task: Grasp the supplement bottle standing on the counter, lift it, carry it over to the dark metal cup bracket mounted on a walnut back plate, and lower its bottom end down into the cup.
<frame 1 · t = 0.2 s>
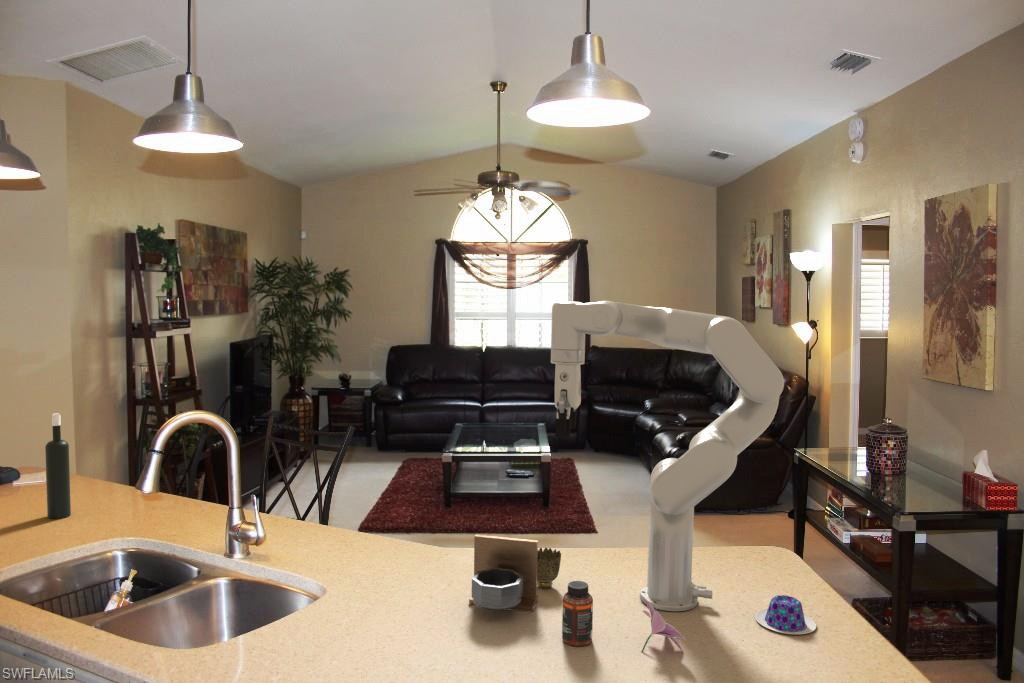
hand: (565, 432, 169), 36 cm above the kitchen counter, tool pointing down, fingers open, 9 cm apart
cup: (544, 587, 174), on the kitchen counter
cup bracket: (496, 614, 159), on the kitchen counter
lily: (660, 649, 145), on the kitchen counter
wine bottle: (59, 516, 218), on the kitchen counter
supplement bottle: (577, 641, 148), on the kitchen counter
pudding: (785, 625, 157), on the kitchen counter
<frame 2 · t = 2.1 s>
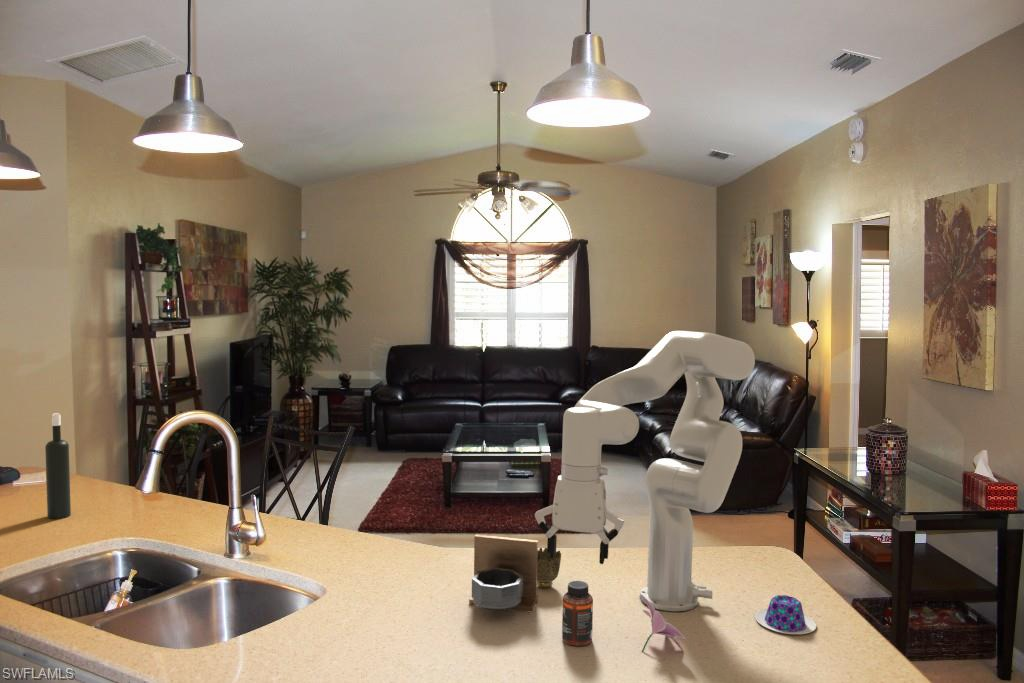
hand: (577, 558, 146), 17 cm above the kitchen counter, tool pointing down, fingers open, 9 cm apart
nothing on the kitchen counter moved.
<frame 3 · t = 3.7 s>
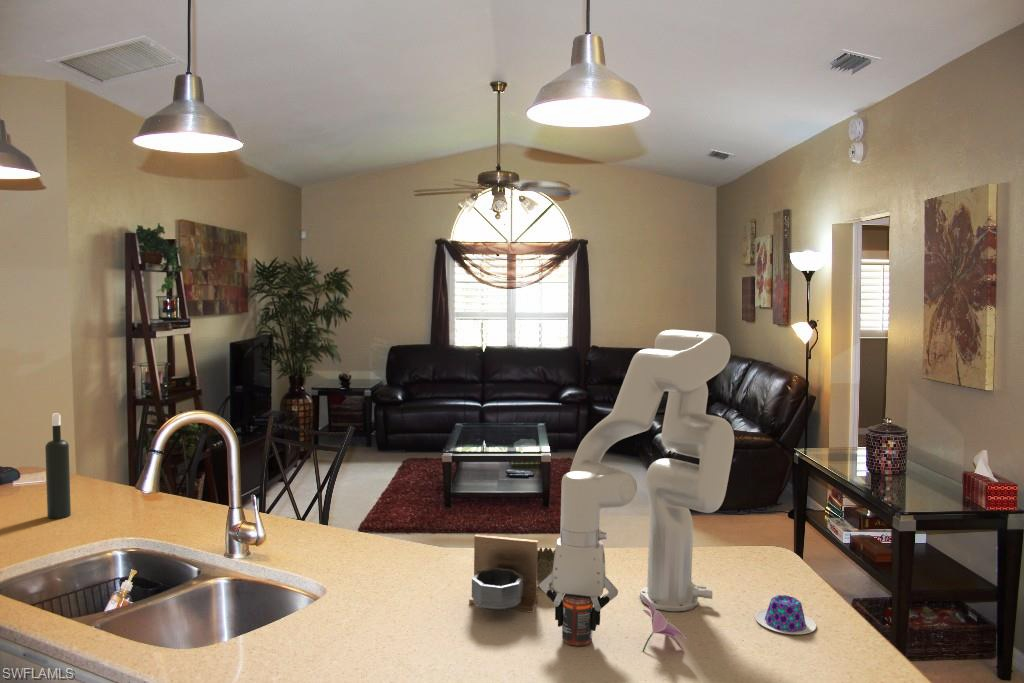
hand: (577, 624, 148), 3 cm above the kitchen counter, tool pointing down, fingers closed on supplement bottle, 6 cm apart
supplement bottle: (577, 641, 148), on the kitchen counter, touching gripper
everything else where it was.
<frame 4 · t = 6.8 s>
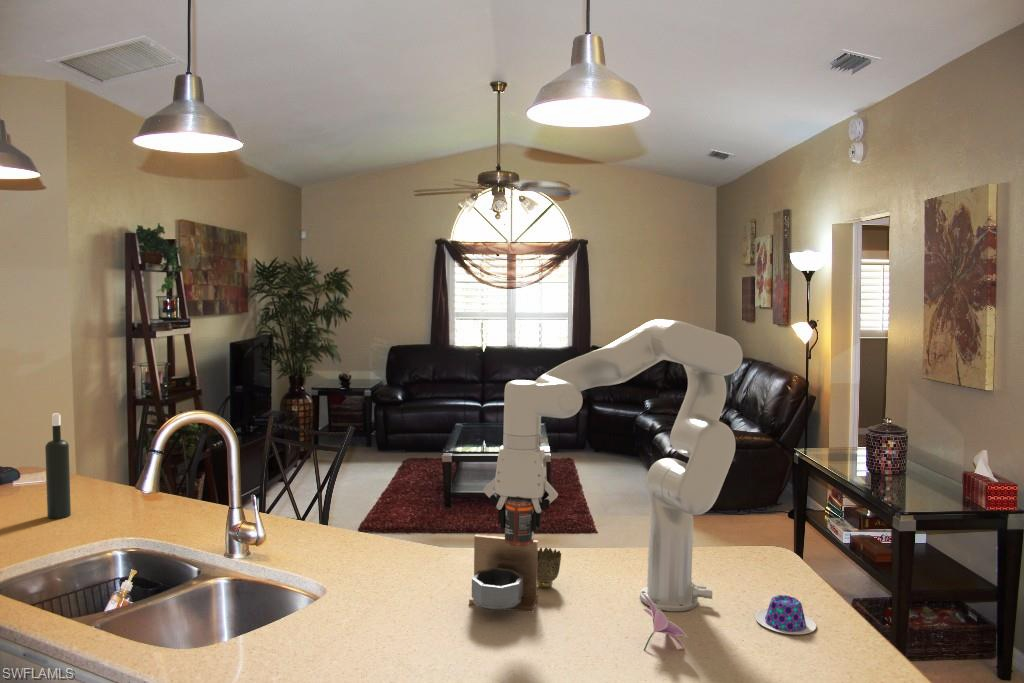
hand: (519, 527, 154), 20 cm above the kitchen counter, tool pointing down, fingers closed on supplement bottle, 6 cm apart
supplement bottle: (519, 543, 154), point 17 cm above the kitchen counter, touching gripper
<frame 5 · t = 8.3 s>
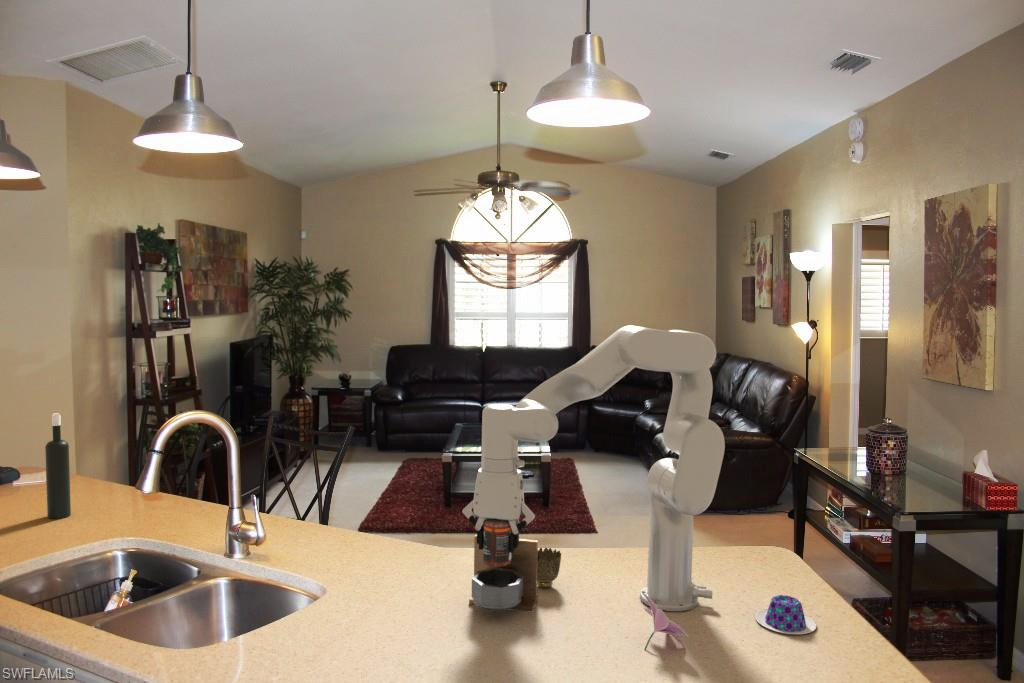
hand: (497, 548, 158), 14 cm above the kitchen counter, tool pointing down, fingers closed on supplement bottle, 6 cm apart
supplement bottle: (497, 563, 158), point 11 cm above the kitchen counter, touching gripper
when the fingers open (8 cm above the kitchen counter, at t = 9.8 s): supplement bottle drops 1 cm, resting on cup bracket.
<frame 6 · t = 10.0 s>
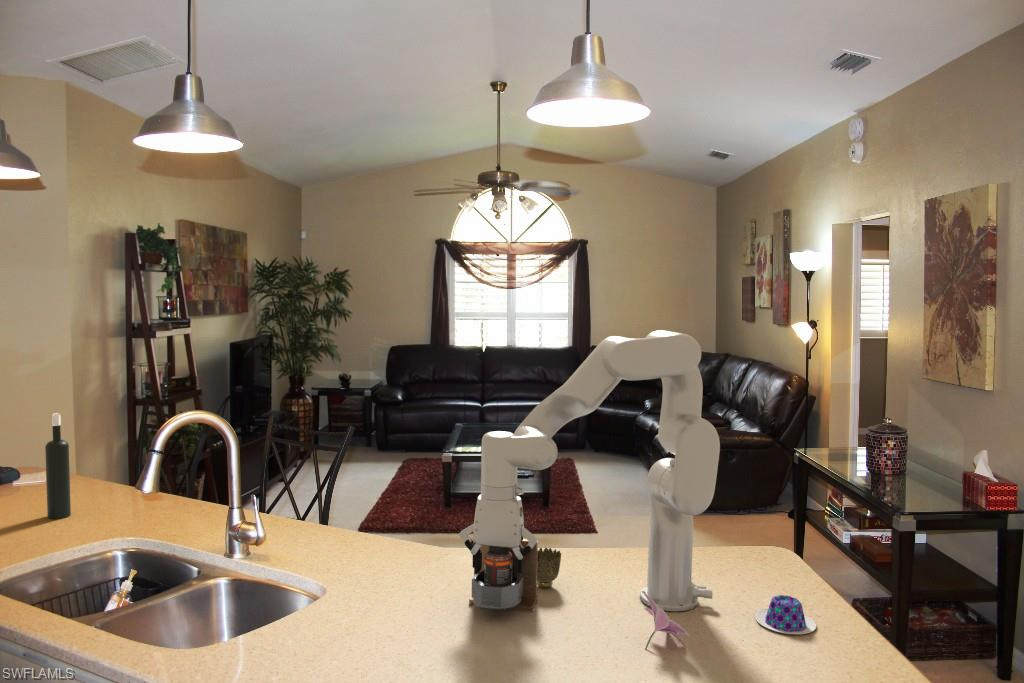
hand: (497, 573, 158), 9 cm above the kitchen counter, tool pointing down, fingers open, 8 cm apart
supplement bottle: (498, 596, 158), point 4 cm above the kitchen counter, touching cup bracket
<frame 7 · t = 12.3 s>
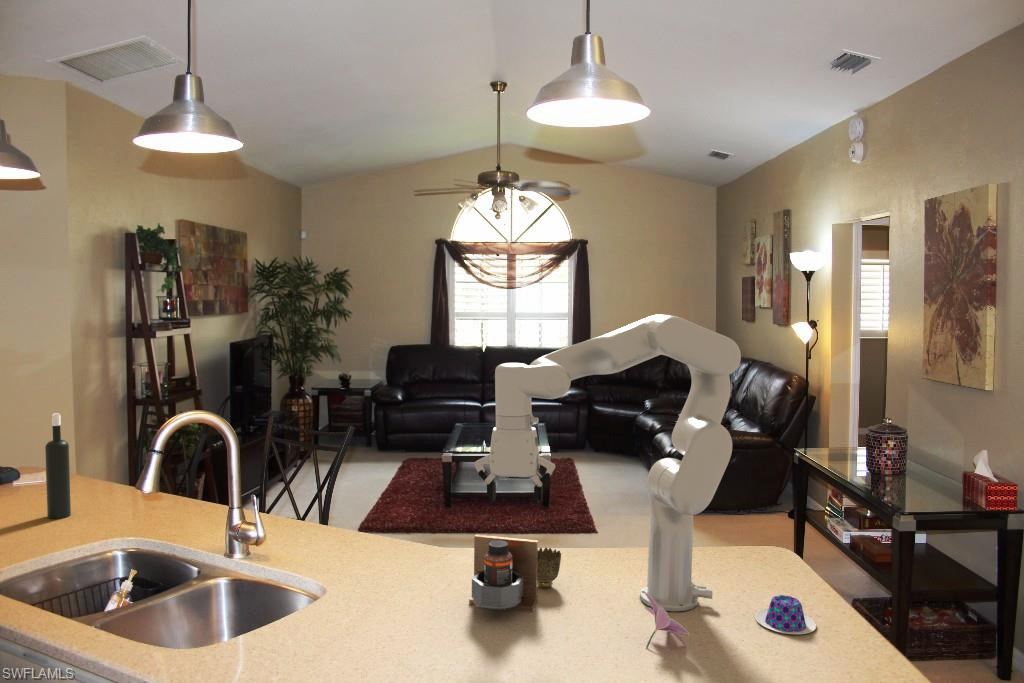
hand: (514, 502, 159), 24 cm above the kitchen counter, tool pointing down, fingers open, 9 cm apart
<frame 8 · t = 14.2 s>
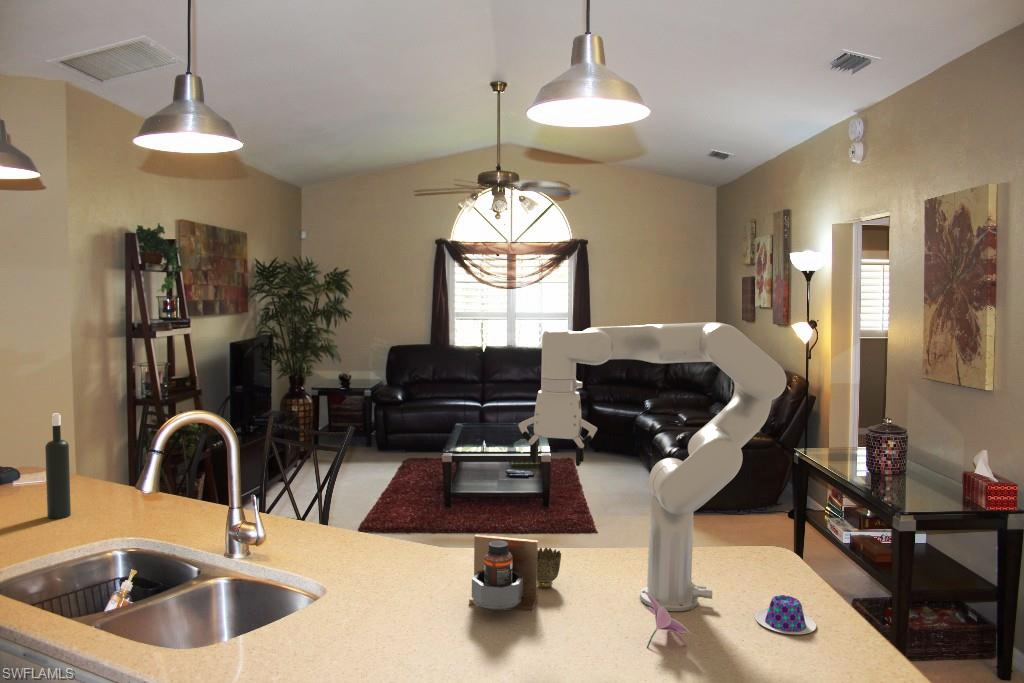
hand: (556, 463, 166), 30 cm above the kitchen counter, tool pointing down, fingers open, 9 cm apart
at the end: supplement bottle 0.2 cm off-centre on the cup bracket, point 3.8 cm above the cup bracket's base; supplement bottle tilted 0°; the gripper is holding nothing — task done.
